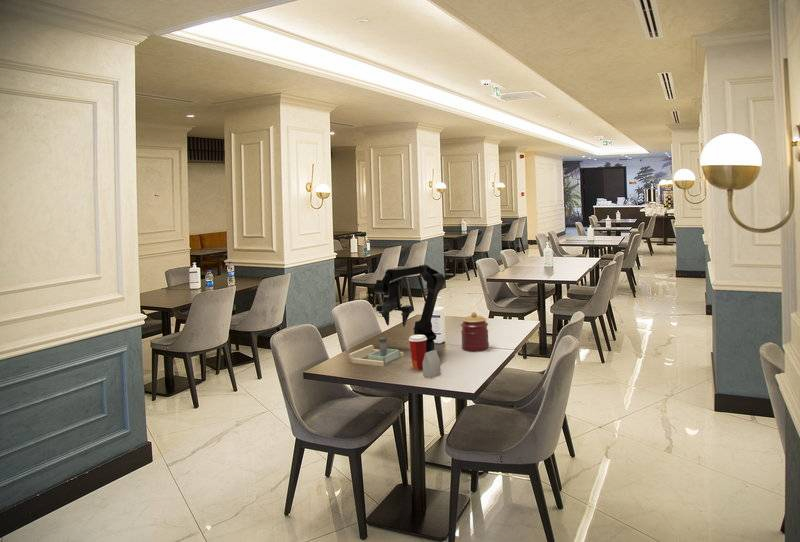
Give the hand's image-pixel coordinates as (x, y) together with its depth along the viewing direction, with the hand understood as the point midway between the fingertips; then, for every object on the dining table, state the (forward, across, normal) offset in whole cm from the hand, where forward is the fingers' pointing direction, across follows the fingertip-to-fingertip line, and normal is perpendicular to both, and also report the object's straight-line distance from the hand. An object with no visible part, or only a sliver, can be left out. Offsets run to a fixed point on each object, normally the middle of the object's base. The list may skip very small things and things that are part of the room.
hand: (395, 325), depth 277 cm
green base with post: (+11, +6, -21) cm, 24 cm away
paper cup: (+12, +26, -24) cm, 37 cm away
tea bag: (+12, +36, -31) cm, 49 cm away
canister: (+12, +35, +15) cm, 40 cm away
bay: (+12, +2, -21) cm, 24 cm away
